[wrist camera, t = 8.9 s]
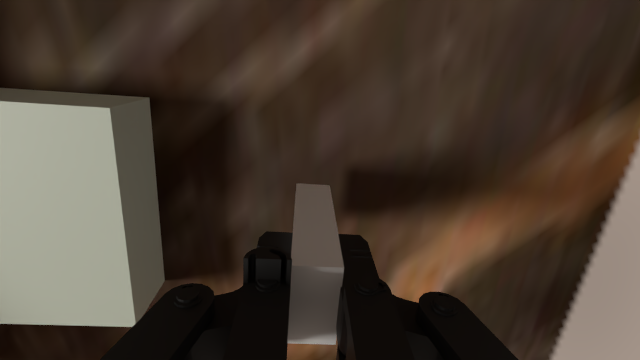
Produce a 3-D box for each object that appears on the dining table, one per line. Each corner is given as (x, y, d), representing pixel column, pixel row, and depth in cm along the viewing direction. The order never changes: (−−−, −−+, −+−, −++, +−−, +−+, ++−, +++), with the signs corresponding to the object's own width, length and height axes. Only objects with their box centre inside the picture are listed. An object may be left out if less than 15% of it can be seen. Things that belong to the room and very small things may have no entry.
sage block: (152, 96, 17) (109, 108, 13) (167, 276, 20) (136, 326, 16) (-119, 78, 16) (-248, 85, 12) (-59, 268, 19) (-146, 320, 16)
